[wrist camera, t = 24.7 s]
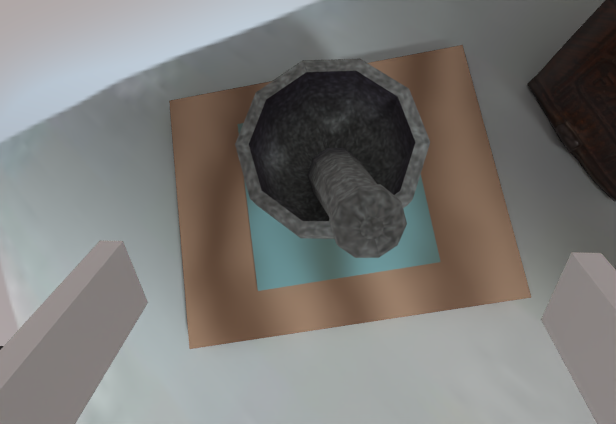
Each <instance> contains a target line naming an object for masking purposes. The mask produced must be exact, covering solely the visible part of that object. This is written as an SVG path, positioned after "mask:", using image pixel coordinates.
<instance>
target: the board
mask: <svg viewBox="0 0 616 424" xmlns="http://www.w3.org/2000/svg"><path fill="white" fill-rule="evenodd" d="M368 64H370V65H371V66H373V67H374V68H376V69H378V70H379V71H381V72H383V73H384V74H386V75H388V76H389V77H391V78H392V79H394V80H396V81H397V82H399V83H401V84H402V85H404V86H405V87H407V88H409V90H410V92H411V95H412V97H413V100H414V102H415V105H416V107H417V110H418V112H419V115H420V117H421V120H422V122H423V125H424V127H425V130H426V132H427V135H428V137H429V140H430V145H429V148H428V151H427V155H426V158H425V161H424V164H423V168H422V171H421V174H420V177H419V181H418V184H417V187H416V190H415V194H414V197H413V200H412V201H411V202H410V203H409V204H408V205H407V206H406V207H404V208H403V209H404V214H405V218H406V222H407V225H406V227H405V230H404V232H403V234H402V236H401V239H400V241H399V243H398V245H397V246H396V247H394V248H393V249H391V250H390V251H388V252H387V253H385V254H384V255H382V256H381V257H379V258H355V257H353V256H352V255H350V254H349V253H348V252H346V251H345V250H343V249H342V248H340V247H339V246H337V244H336V241H335V239H311V238H300V237H298V236H297V235H296V234H294V233H293V232H292V231H290V230H289V229H288V228H286V227H285V226H284V225H282V224H281V223H280V222H278V221H277V220H276V219H274V218H273V217H272V216H270V215H269V214H268V213H266V212H265V211H264V210H262V209H261V208H260V207H258V206H257V205H256V204H255V203H254V202H253V201H252V200H251V199H250V197H249V194H248V190H247V186H246V183H245V179H244V175H243V172H242V168H241V164H240V161H239V157H238V153H237V150H236V146H235V143H236V141H237V138H238V136H239V133H240V131H241V128H242V126H243V123H244V121H245V118H246V116H247V113H248V111H249V108H250V106H251V103H252V101H253V98H254V96H255V93H256V92H257V91H259V90H260V89H262V88H263V87H265V86H266V85H268V84H269V83H271V82H272V81H271V82H265V83H260V84H255V85H250V86H244V87H239V88H234V89H228V90H223V91H218V92H213V93H207V94H202V95H197V96H192V97H186V98H181V99H176V100H171V101H169V102H170V114H171V127H172V139H173V151H174V163H175V176H176V188H177V200H178V212H179V224H180V237H181V249H182V261H183V273H184V286H185V298H186V310H187V322H188V334H189V347H190V349H193V348H200V347H206V346H213V345H219V344H226V343H233V342H239V341H246V340H253V339H259V338H266V337H272V336H279V335H286V334H292V333H299V332H305V331H312V330H319V329H325V328H332V327H339V326H345V325H352V324H358V323H365V322H372V321H378V320H385V319H392V318H398V317H405V316H411V315H418V314H425V313H431V312H438V311H444V310H451V309H458V308H464V307H471V306H478V305H484V304H491V303H497V302H504V301H511V300H517V299H524V298H531V294H530V291H529V287H528V283H527V280H526V276H525V272H524V269H523V265H522V261H521V258H520V254H519V250H518V247H517V243H516V239H515V236H514V232H513V228H512V225H511V221H510V217H509V214H508V210H507V206H506V203H505V199H504V195H503V192H502V188H501V184H500V181H499V177H498V173H497V170H496V166H495V162H494V159H493V155H492V151H491V148H490V144H489V141H488V137H487V133H486V130H485V126H484V122H483V119H482V115H481V111H480V108H479V104H478V100H477V97H476V93H475V89H474V86H473V82H472V78H471V75H470V71H469V67H468V64H467V60H466V56H465V53H464V49H463V45H460V46H455V47H450V48H444V49H439V50H434V51H428V52H423V53H418V54H413V55H407V56H402V57H397V58H392V59H386V60H381V61H376V62H371V63H368Z"/></svg>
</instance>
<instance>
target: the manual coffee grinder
mask: <svg viewBox="0 0 616 424" xmlns="http://www.w3.org/2000/svg"><path fill="white" fill-rule="evenodd" d="M528 86H529V87H530V89H531V91H532V92H533V94H534V96H535V97H536V99H537V101H538V102H539V104H540V106H541V107H542V109H543V110H544V112H545V114H546V116H547V117H548V119H549V121H550V122H551V124H552V126H553V128H554V130H555V131H556V133H557V134H558V136H559V138H560V139H561V141H562V142H563V143H564V145H565V146H566V148H567V149H568V150H569V151H570V152H571V153H572V154H573V155H574V156H575V157H576V158H577V160H578V161H579V162H580V164H581V165H582V166H583V167H584V169H585V170H586V171H587V173H588V174H589V175H590V177H591V178H592V179H593V180H594V181H595V182H596V183H597V184H598V185H599V186H600V187H601V188H602V189H603V190H604V191H605V192H606V193H607V194H608V195H609V196H610V197H611V198H612V199H613V200H614V201H616V0H605V1H604V2H603V4H602V5H601V6H600V7H599V8H598V9H597V10H596V11H595V12H594V13H593V14H592V15H591V16H590V17H589V19H588V20H587V21H586V22H585V23H584V24H583V25H582V26H581V27H580V28H579V29H578V30H577V31H576V33H575V34H574V35H573V36H572V37H571V38H570V39H569V40H568V41H567V42H566V43H565V45H564V46H563V47H562V48H561V49H560V50H559V51H558V52H557V53H556V54H555V56H554V57H553V58H552V59H551V60H550V61H549V62H548V63H547V64H546V66H545V67H544V68H543V69H542V70H541V71H540V72H539V73H538V74H537V75H536V76H535V77H534V78H533V79H532V80H531V81H530V82H529V83H528Z"/></svg>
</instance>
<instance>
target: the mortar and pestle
mask: <svg viewBox="0 0 616 424" xmlns="http://www.w3.org/2000/svg"><path fill="white" fill-rule="evenodd" d="M429 145H430V140H429V137H428V135H427V132H426V130H425V127H424V125H423V122H422V120H421V117H420V115H419V112H418V110H417V107H416V105H415V102H414V100H413V97H412V95H411V92H410V90H409V88H407V87H405V86H404V85H402V84H401V83H399V82H397V81H396V80H394V79H392V78H391V77H389V76H388V75H386V74H384V73H383V72H381V71H379V70H378V69H376V68H374V67H373V66H371V65H370V64H368V63H366V62H365V61H363V60H361V59H338V60H307V61H301V62H300V63H299V64H297V65H296V66H294V67H293V68H291V69H290V70H288V71H287V72H285V73H284V74H282V75H281V76H279V77H278V78H276V79H275V80H273V81H272V82H271V83H269V84H268V85H266V86H265V87H263V88H262V89H260V90H259V91H257V92H256V93H255V96H254V98H253V101H252V103H251V106H250V108H249V111H248V113H247V116H246V118H245V121H244V123H243V126H242V128H241V131H240V133H239V136H238V138H237V141H236V143H235V146H236V150H237V153H238V157H239V161H240V164H241V168H242V172H243V175H244V179H245V183H246V186H247V190H248V194H249V197H250V199H251V200H252V201H253V202H254V203H255V204H256V205H257V206H258V207H260V208H261V209H262V210H264V211H265V212H266V213H268V214H269V215H270V216H272V217H273V218H274V219H276V220H277V221H278V222H280V223H281V224H282V225H284V226H285V227H286V228H288V229H289V230H290V231H292V232H293V233H294V234H296V235H297V236H298V237H300V238H311V239H335V241H336V244H337V246H339V247H340V248H342V249H343V250H345V251H346V252H348V253H349V254H350V255H352V256H353V257H355V258H379V257H381V256H382V255H384V254H385V253H387V252H388V251H390V250H391V249H393V248H394V247H396V246H397V245H398V243H399V241H400V239H401V236H402V234H403V232H404V230H405V227H406V225H407V222H406V218H405V214H404V209H403V208H404V207H406V206H407V205H408V204H409V203H410V202H411V201H412V200H413V197H414V194H415V190H416V187H417V184H418V181H419V177H420V174H421V171H422V168H423V164H424V161H425V158H426V155H427V151H428V148H429Z"/></svg>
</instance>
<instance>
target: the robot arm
mask: <svg viewBox="0 0 616 424" xmlns="http://www.w3.org/2000/svg"><path fill="white" fill-rule="evenodd" d="M147 303H148V302H147V299H146V297H145V294H144V292H143V289H142V287H141V284H140V282H139V279H138V277H137V275H136V272H135V270H134V267H133V265H132V262H131V260H130V257H129V255H128V252H127V250H126V247H125V245H124V243H123V241H99V242H98V243H97V244H96V246H95V247H94V248H93V249H92V250H91V251H90V252H89V253H88V254H87V255H86V257H85V258H84V259H83V260H82V261H81V262H80V263H79V264H78V265H77V266H76V268H75V269H74V270H73V271H72V272H71V273H70V274H69V275H68V276H67V277H66V278H65V280H64V281H63V282H62V283H61V284H60V285H59V286H58V287H57V288H56V289H55V291H54V292H53V293H52V294H51V295H50V296H49V297H48V298H47V299H46V300H45V302H44V303H43V304H42V305H41V306H40V307H39V308H38V309H37V310H36V311H35V312H34V314H33V315H32V316H31V317H30V318H29V319H28V320H27V321H26V322H25V323H24V325H23V326H22V327H21V328H20V329H19V330H18V331H17V332H16V333H15V334H14V336H13V337H12V338H11V339H10V340H9V341H8V342H7V343H6V344H5V345H4V346H0V424H75V423H76V421H77V420H78V418H79V416H80V415H81V413H82V411H83V410H84V408H85V407H86V405H87V403H88V402H89V400H90V398H91V397H92V395H93V393H94V392H95V390H96V388H97V387H98V385H99V383H100V382H101V380H102V378H103V377H104V375H105V373H106V372H107V370H108V368H109V367H110V365H111V363H112V362H113V360H114V358H115V357H116V355H117V353H118V352H119V350H120V348H121V347H122V345H123V343H124V342H125V340H126V338H127V337H128V335H129V333H130V332H131V330H132V328H133V327H134V325H135V323H136V322H137V320H138V318H139V317H140V315H141V313H142V312H143V310H144V308H145V307H146V305H147ZM541 320H542V322H543V324H544V326H545V328H546V330H547V332H548V333H549V335H550V337H551V339H552V341H553V343H554V345H555V346H556V348H557V350H558V352H559V354H560V356H561V358H562V359H563V361H564V363H565V365H566V367H567V369H568V371H569V372H570V374H571V376H572V378H573V380H574V382H575V384H576V385H577V387H578V389H579V391H580V393H581V395H582V397H583V398H584V400H585V402H586V404H587V406H588V408H589V410H590V411H591V413H592V415H593V417H594V419H595V421H596V423H597V424H616V269H615V268H614V267H613V266H612V265H611V264H610V263H609V261H608V260H607V259H606V258H605V257H604V256H603V255H602V253H580V252H571V254H570V256H569V258H568V261H567V263H566V265H565V267H564V270H563V272H562V274H561V276H560V278H559V281H558V283H557V285H556V287H555V290H554V292H553V294H552V296H551V299H550V301H549V303H548V305H547V307H546V310H545V312H544V314H543V316H542V319H541Z"/></svg>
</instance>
